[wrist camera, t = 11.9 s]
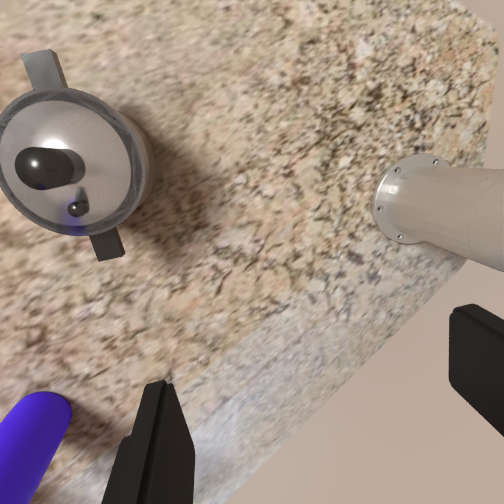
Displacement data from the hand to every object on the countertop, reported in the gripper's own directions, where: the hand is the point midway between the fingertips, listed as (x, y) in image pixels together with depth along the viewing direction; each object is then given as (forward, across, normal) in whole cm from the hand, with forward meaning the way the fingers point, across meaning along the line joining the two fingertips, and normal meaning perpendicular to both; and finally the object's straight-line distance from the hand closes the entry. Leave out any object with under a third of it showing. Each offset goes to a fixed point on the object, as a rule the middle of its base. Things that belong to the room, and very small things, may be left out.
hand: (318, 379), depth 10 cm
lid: (+24, +15, -9) cm, 30 cm away
